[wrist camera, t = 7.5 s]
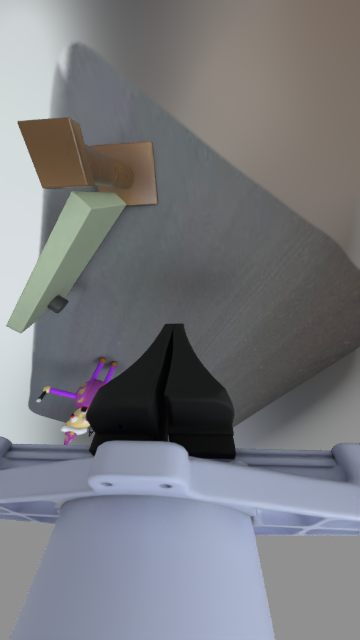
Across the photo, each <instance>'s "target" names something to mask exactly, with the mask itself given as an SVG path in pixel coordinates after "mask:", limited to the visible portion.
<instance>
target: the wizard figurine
mask: <svg viewBox="0 0 360 640" xmlns="http://www.w3.org/2000/svg"><path fill="white" fill-rule="evenodd" d="M105 362H106V360H105V358H101V359H100V363H99V364H98V366H97V368H96V370H95V372H94V374H93V376H92V378H91V380H90V381H88V382H86V383H84V384H83V385H82V386H81V387H80V388H79V389H78V391H77V393H76V394H74V393H70V392H67V391H62V390H58V389H54V388H51V387H50V386H46V387H44V389H43V393H42V394H41V396H40V397H39V398H38V400H37V402H40V401H41V400H42V398H43V397H44V396H45V394H46V393H48V392H50V393H54V394H58V395H62V396H66V397H70V398H74V399H75V404H76V407H77V408H78V409H77V410H76V411H75V412H74V414H72V415H71V418H70V419H69V420H68V421H67V422H66V424H65V425H63V426H62V427H61V431H62V432H65V441H64V445H68V444H69V443H70V442H71V441H72V440H73V439H74V437H75V436H76V435H80V434H83V433H86V431H87V427H89V426H90V424H89V423H88V421H87V418H86V412H87V410H88V408H89V406H90V404H91V402H92V400H93V398H94V396H95V394H96V392H97V391H98V389H99V388H100V387H101V386H103V385H105V384H106V383H108V382H109V381H110V379H111V376H112V374H113V371H114V369H115V367H116V365H117V363H116V362H112V363H111V367H110V370H109V372H108V374H107V376H106V379H105V381H104V382H102V381H100V380H96V378H97V376H98V374H99V372H100V370H101V368H102V366H103V364H104V363H105ZM93 432H94V430H93ZM93 432H91V431H90V429H89V437H90V435H91V434H92V433H93ZM90 433H91V434H90Z"/></svg>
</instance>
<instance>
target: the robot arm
mask: <svg viewBox="0 0 360 640" xmlns="http://www.w3.org/2000/svg"><path fill="white" fill-rule="evenodd" d="M86 418H87V421H88V423H89V424H90V426H91V427H92V428H93V430H94V431H95V436H94V438H93V441H92V443H91V446H86V445H84V446H83V445H38V444H35V445H34V444H12V443H11V442H10V441H9V440H8V439H6V438H4V437H0V519H5V520H16V521H27V522H36V523H45V524H55V527H54V529H53V532H52V534H51V537H50V539H49V541H48V544H47V546H46V549H45V552H44V554H43V556H42V559H41V561H40V564H39V566H38V569H37V571H36V574H35V576H34V579H33V581H32V584H31V586H30V588H29V591H28V593H27V596H26V598H25V601H24V603H23V606H22V608H21V611H20V613H19V616H18V619H17V621H16V623H15V626H14V628H13V631H12V633H11V636H10V638H9V640H275V636H274V631H273V626H272V621H271V616H270V611H269V606H268V601H267V595H266V591H265V586H264V580H263V575H262V570H261V565H260V560H259V555H258V550H257V545H256V539H255V536H257V535H258V536H260V535H261V536H263V535H264V536H267V535H345V536H360V443H340V444H337V445H335V446H334V447H333V448H332V450H331V451H321V450H320V451H318V450H274V449H273V450H272V449H235V444H234V439H233V427H232V423H233V419H234V408H233V405H232V402H231V399H230V397H229V395H228V393H227V391H226V389H225V388H224V387H223V386H222V385H221V384H220V383H219V382H218V381H217V380H216V379H215V378H214V377H213V376H212V375H211V374H210V373H209V372H208V370H207V369H206V368H205V367H204V366H203V364H202V363H201V362H200V360H199V359H198V357H197V356H196V354H195V352H194V351H193V349H192V347H191V345H190V343H189V341H188V338H187V336H186V333H185V329H184V324H165V325H164V327H163V329H162V330H161V332H160V333H159V335H158V336H157V338H156V339H155V341H154V342H153V343H152V345H151V346H150V347H149V348H148V350H147V351H146V352H145V353H144V354H143V355H142V356H141V357H140V358H139V359H138V360H137V361H136V362H135V363H134V364H133V365H132V366H130V367H129V368H128V369H127V370H125V371H124V372H123V373H122V374H120V375H119V376H117V377H116V378H114V379H113V380H111V381H110V382H108V383H106V384H105V385H103V386H101V387H100V388H99V389H98V391H97V392H96V394H95V396H94V398H93V400H92V402H91V404H90V406H89V408H88V410H87V412H86ZM168 436H169V441H170V442H168Z"/></svg>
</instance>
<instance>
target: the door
mask: <svg viewBox="0 0 360 640" xmlns="http://www.w3.org/2000/svg"><path fill="white" fill-rule="evenodd" d="M125 206H126V203H125V202H124V201H123V200H122V199H121V198H120V197H119V196H118V195H117V194H116V193H105V192H83V191H71V193H70V195H69V198H68V200H67V202H66V204H65V206H64V208H63V210H62V212H61V214H60V216H59V218H58V220H57V222H56V224H55V226H54V228H53V230H52V233H51V235H50V237H49V239H48V241H47V243H46V245H45V247H44V249H43V251H42V253H41V255H40V257H39V259H38V261H37V263H36V265H35V268H34V270H33V272H32V274H31V276H30V278H29V280H28V282H27V284H26V286H25V288H24V290H23V292H22V294H21V296H20V299H19V301H18V302H17V305H16V307H15V309H14V311H13V313H12V315H11V317H10V319H9V321H8V323H7V325H6V326H7V327H9V328H11V329H13V330H15V331H17V332H19V333H22V332H23V331H25V329H27V328H28V327H29V326H30V325H32V324H33V323H34V322H36V321H37V320H38V319H39V318H40V317H42V316H43V315H44V314H45V313H47V312H48V311H49V310H52V311H53V312H55V313H57V314H58V313H59V312H61V311H62V310H63V308H64V307H65V306H66V305H67V303H68V300H66V299H65V297H66V296H67V294H68V293H69V291H70V290H71V288H72V287H73V285H74V284H75V282H76V281H77V279H78V277H79V276H80V274H81V273H82V271H83V270H84V268H85V267H86V265H87V264H88V262H89V261H90V259H91V258H92V256H93V255H94V253H95V252H96V250H97V249H98V247H99V246H100V244H101V243H102V241H103V239H104V238H105V236H106V235H107V233H108V232H109V230H110V229H111V227H112V226H113V224H114V223H115V221H116V220H117V218H118V217H119V215H120V214H121V212H122V211H123V209H124V208H125Z"/></svg>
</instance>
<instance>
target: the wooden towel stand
mask: <svg viewBox="0 0 360 640" xmlns="http://www.w3.org/2000/svg"><path fill="white" fill-rule="evenodd" d="M18 125H19V128H20V130H21V133H22V135H23V138H24V141H25V143H26V146H27V149H28V151H29V154H30V156H31V159H32V162H33V164H34V167H35V169H36V172H37V174H38V177H39V180H40V182H41V185H42V187H43V188H44V189H63V188H80V187H94V186H95V185H97V186H98V191H99V192H105V193H116V194H117V195H118V196H119V197H120V198H121V199H122V200H123V201H124V202H125V203H126V206H130V205H149V204H158V196H157V185H156V175H155V164H154V154H153V144H152V142H138V143H124V144H110V145H96V146H88V145H86V144H84V140H83V136H82V132H81V128H80V125H79V124H78V123H77V122H75V121H74V120H72V119H71V118H69V117H63V118H51V119H39V120H26V121H18Z"/></svg>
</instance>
